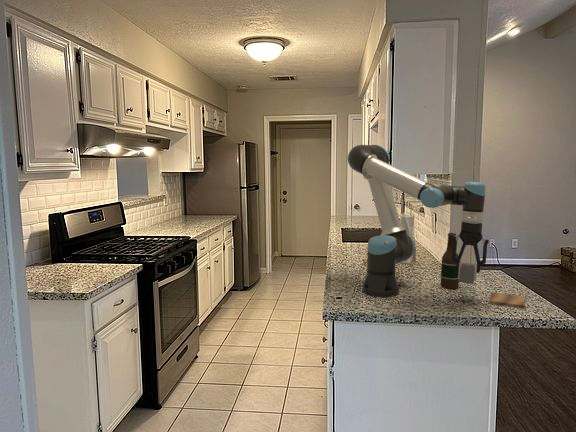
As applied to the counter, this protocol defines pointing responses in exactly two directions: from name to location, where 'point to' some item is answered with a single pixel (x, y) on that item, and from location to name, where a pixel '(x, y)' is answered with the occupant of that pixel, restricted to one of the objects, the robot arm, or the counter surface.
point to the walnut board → (507, 300)
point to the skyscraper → (408, 233)
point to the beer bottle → (449, 267)
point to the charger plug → (467, 273)
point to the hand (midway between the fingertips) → (467, 279)
